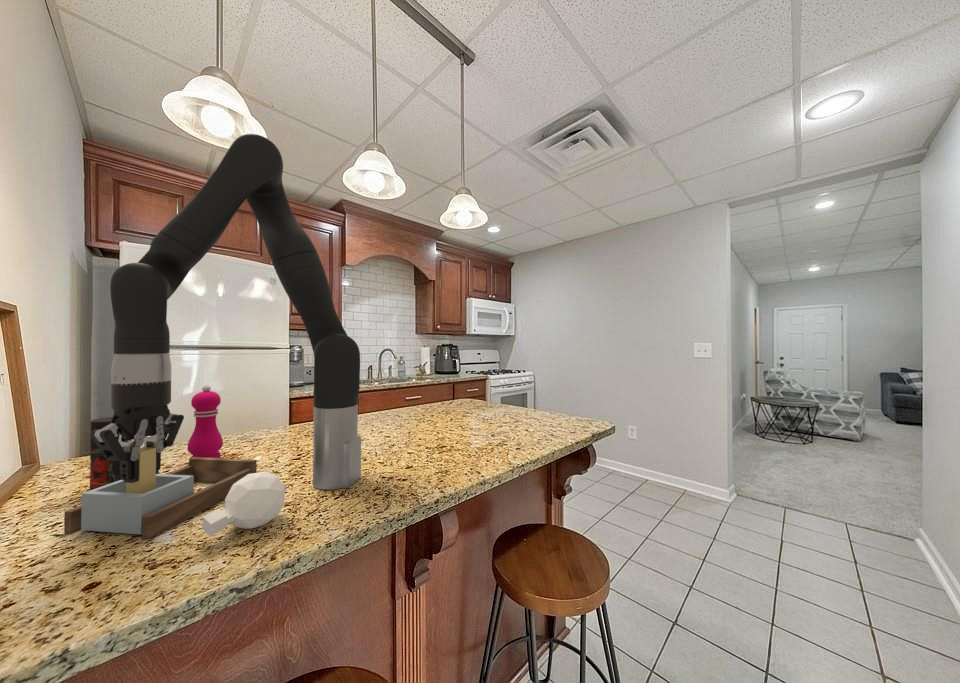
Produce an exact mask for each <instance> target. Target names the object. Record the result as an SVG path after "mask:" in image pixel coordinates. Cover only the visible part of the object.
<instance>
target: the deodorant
mask: <svg viewBox="0 0 960 683" xmlns="http://www.w3.org/2000/svg"><path fill="white" fill-rule="evenodd" d="M112 417H113V416H108V417H100V418H95V419H92V420H90V433H91V432H92V431H93V430H101V429H102V428H104V427H106V426H107V425H109V424H111V423H110V422H111V419H112ZM116 433H117V434H118V436H117V437H116V438H117V440H119V433H118V432H117V431H116ZM129 440H130V441H133V440H132V439H129ZM129 451H130V450H129ZM89 452H90V453H89V454H90V455H89V456H90V457H89V491H90V490H93V489H96V488H99V487H102V486H105V485H108V484H110V483H113V482H116V481H119V480H122V479H121V462H120V461H118V460H107V459H106V458H105V457H104V455H103V454H102V452H101V451H100V449H99V448H98V446H97V445H96V443H95V442H94V440H93V439H92V437H91V436H90V451H89Z"/></svg>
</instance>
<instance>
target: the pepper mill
mask: <svg viewBox="0 0 960 683" xmlns="http://www.w3.org/2000/svg"><path fill="white" fill-rule="evenodd" d="M211 388H212V387H211V386H210V385H203V386H202V388H201V391H200V392H198V393H196V394H195V395H193V396H192V397H191V398H192V399H191V402H190V403H191V407H192V408H193V409H194V411H193V417H194V418H195V426H194V430H193V431H192V434H191V436H190V438H189V440H188V443H187V451H188V453H189V454H191V456H190V457H189V459H190V458H193V457H204V458H221V452H219V451H220V450H221V449H222V448H223V446H224V441H223V436H222V434H221V433H220V431H219V429H218V426H217V415H218V414H219V412H218V411H219V408H218V407H219V406H220V405H221V399H222V398H221V396H220V394H218V392H215V391H213V390H211Z"/></svg>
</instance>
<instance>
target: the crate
mask: <svg viewBox="0 0 960 683" xmlns="http://www.w3.org/2000/svg"><path fill="white" fill-rule="evenodd" d="M137 460H139V480H138V481H136V482H134V483H126V482H124V481H123V480H119V481H116V482H113V483H110V484H108V485H105V486H102V487H99V488H96V489H93V490H90V489H89V490H88V491H84V492H82V493H81V505H82V506H81V505H80V506H81V530H80V531H89V532H91V531H92V532H103V533H116V534H127V535H130V534H131V535H142V517H143V516H145V515H148V514H150V513H152V512H154V511H156V510H158V509H161V508H163V507H165V506H167V505H169V504H171V503H174V502H176V501H178V500H180V499H182V498H184V497H186V496H189V495H191V494H193V493H194V487H195V486H194V484H195V483H194V482H195V481H194V476H190V475H171V474H167V473H158V474H156V448H150V447H143V446H141V447H140V451H139V457H138V459H137Z"/></svg>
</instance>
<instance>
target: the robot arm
mask: <svg viewBox="0 0 960 683" xmlns="http://www.w3.org/2000/svg"><path fill="white" fill-rule="evenodd" d="M283 172H284V161H283V157H282V153H281V152H280V150H279V148H278V147H277V146H276V144H275V143H273V141H271V140H269V139H268V138H267V137H265V136H263V135H260V134H256V133H245V134H242V135H239V136H238V137H236V138H235V139H233V141H232V142H231V144H230V146H229V148H228V149H227V151H226V152H225V153H224V155H223V157H222V159H221V161H220V162H219V164H218V165H217V166H216V168H215V170H214V171H213V173H212V174H211V175H210V176H209V178H208V179H207V180H206V182H205V183H204V184H203V185H202V186H201V188H200V189H199V190H198V191H197V192H196V194H195V195H194V196H193V197H192V198H191V199H190V200H189V202H187V203H186V204H185V206H184V207H183V208H181V210H180V211H178V213H177V214H176V215H175V216H174V217H172V219H171V220H170V221H168V223H167V224H166V225H165V226H163V228H162V229H160V231H159V232H158V233H157V234H156V235H155V236H154V237H153V239H152V240H151V242H150V246H149V249H148V251H147V252H146V253H145V254H144V255H143V256H142V257H141V258H140V259H139V260H138V262H131V263H130V262H129V263H126V264H124V265H121V266H119V267H118V268H117V269H115V271H114V272H113V274H112V275H111V279H110V284H109V285H110V287H109V288H110V300H111V307H112V314H113V319H114V333H113V356H112V357H113V358H112V363H111V371H110V372H111V373H110V374H111V375H110V376H111V377H110V378H111V379H110V380H111V382H110V387H111V388H110V390H111V391H110V393H111V394H110V406H111V409H112V410H113V416H111V417H112V419H111V422H110V423H111V424H109V425H107V426H106V427H104V428H102V429H101V430H93V431H92V432H91V431H90V438H91V437H92V439H93V440H94V442H95V443H96V445H97V446H98V448H99V449H100V451H101V452H102V454H103V455H104V457H105V458H106V459H107V460H118V461H120V462H121V479H122V480H123V481H124V482H126V483H134V482H136V481H138V480H139V460H137V459H138V457H139V451H140V448H142V447H143V446H144V447H150V448H156V474H160V472H159V471H160V470H161V467H162V458H161V457H162V452H163V451H164V449H166V448H168V447H169V448H170V447H171V446H173V445H174V443H175V440H176V437H177V436H178V434H179V431H180V428H181V427H182V425H183V421H184V418H185V415H184V414H175V413H171V410H170V409H169V407H168V405H169V404H170V403H171V402H172V362H171V354H170V348H171V347H170V344H171V343H170V342H171V340H170V338H171V336H170V335H171V334H170V329H169V325H168V323H167V322H168V321H167V315H168V314H167V311H168V301H169V299H170V298H171V297H172V295H174V293H175V292H176V291H177V289H178V288H179V287H180V286H181V284H182V283H183V282H184V280H185V279H186V277H187V275H188V274H189V273H190V271H191V270H192V269H193V267H195V266H196V265H197V264H198V263H199V262H200V261H201V260H202V259H203V258H204V257H205V255H207V253H208V252H210V251H211V249H212V247H214V245H216V243H217V242H218V241H219V239H220V237H222V235H223V234H224V232H225V230H226V229H227V227H228V226H229V224H230V222H231V221H232V219H233V217H234V216H235V215H236V213H237V211H238V210H239V208H240V207H241V206H242V204H243V203H244V202H245V201H247V203H248V205H249V207H250V209H251V210H252V212H253V214H254V216H255V219H256V220H257V223H258V226H259V229H260V233H261V236H262V239H263V242H264V244H265V248H266V250H267V253H268V256H269V259H270V261H271V263H272V265H273V266H272V267H273V268H274V270H275V272H276V275H277V277H278V279H279V281H280V283H281V285H282V288H283V289H284V291H285V293H286V296H287V297H288V298H289V300H290V302H291V303H292V305H293V307H294V308H295V310H296V312H297V313H298V315H299V317H300V319H301V321H302V323H303V324H304V328H305V330H306V333H307V336H308V338H309V339H308V340H309V342H310V345H311V349H312V351H313V352H312V353H313V357H314V358H313V362H314V363H313V382H314V383H313V421H312V422H313V427H312V428H313V430H312V431H313V432H312V433H313V434H312V435H313V436H312V437H313V438H312V441H313V442H312V486H313V488H315V489H318V490H324V491H325V490H338V489H342V488H345V489H346V488H347V489H349V488H350V487H351V486H353V484H355V483H356V482H357V481H359V479H361V477H362V436H361V435H360V436H359V435H358V433H359V432H358V429H359V428H358V427H359V426H358V425H359V424H358V422H359V421H358V420H359V418H358V416H359V415H358V414H359V394H360V386H361V383H360V379H361V378H360V377H361V352H360V348H359V346H358V344H357V342H356V341H355V340H354V339H353V338H351V337H350V336H349V335H348V333H347V332H346V330H345V329H344V327H343V324H342V321H340V319H339V316H338V314H337V312H336V309H335V306H334V301H333V297H332V293H331V292H332V291H331V288H330V284H329V281H328V277H327V274H326V271H325V268H324V266H323V263H322V261H321V258H320V256H319V254H318V251H317V249H316V246H315V244H314V242H312V240H311V238H310V236H309V235H308V234H307V233H306V231H305V230H304V228H303V227H302V225H300V222H298V220H297V219H296V217H295V215H294V214H293V210H292V209H291V206H290V203H289V200H288V197H287V195H286V192H285V188H284V184H283ZM116 431H117V432H118V433H119V440H117V438H116V437H117V436H118V434H117V433H116ZM129 439H132V441H130V440H129ZM129 450H130V451H129Z"/></svg>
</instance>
